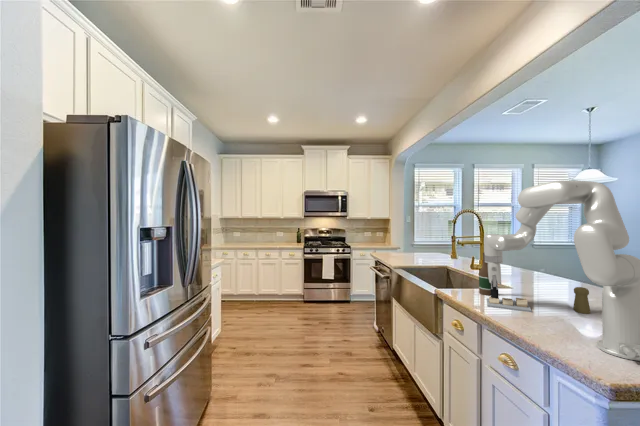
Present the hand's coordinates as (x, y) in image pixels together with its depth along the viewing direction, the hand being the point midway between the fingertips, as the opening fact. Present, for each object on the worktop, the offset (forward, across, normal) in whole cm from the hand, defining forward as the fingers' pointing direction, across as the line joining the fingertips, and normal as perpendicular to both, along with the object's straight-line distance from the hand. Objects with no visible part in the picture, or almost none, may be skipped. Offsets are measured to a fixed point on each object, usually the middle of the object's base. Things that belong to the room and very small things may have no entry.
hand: (494, 297), depth 139 cm
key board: (+5, 0, -5) cm, 7 cm away
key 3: (+4, 0, 0) cm, 4 cm away
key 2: (+4, 0, -5) cm, 7 cm away
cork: (+5, +9, -34) cm, 36 cm away
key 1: (+3, 0, -11) cm, 11 cm away
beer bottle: (+5, +18, +3) cm, 19 cm away
